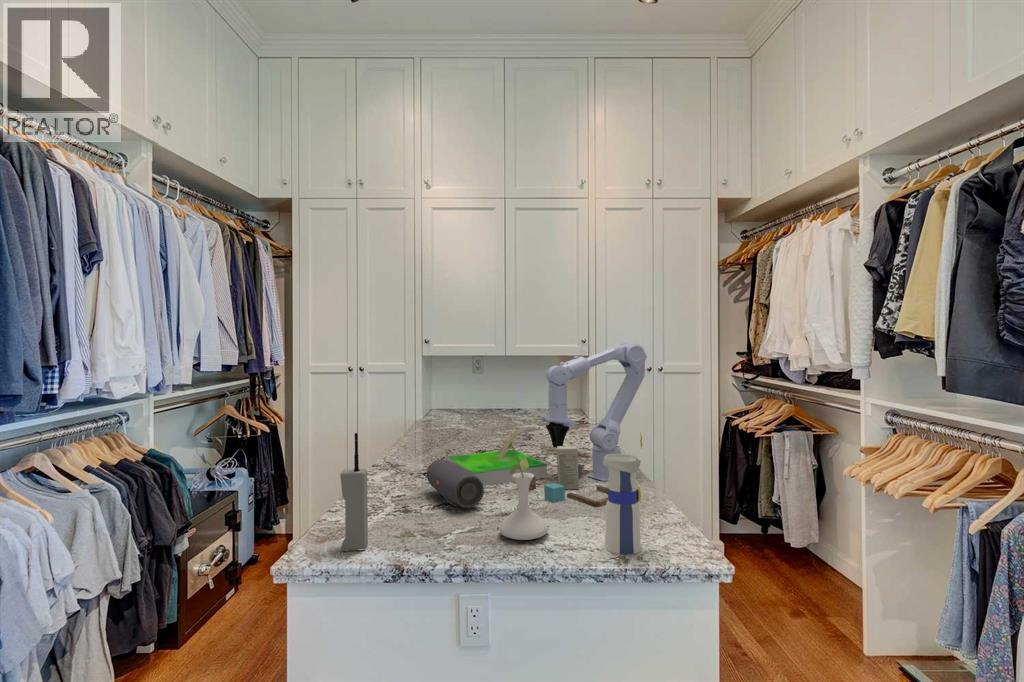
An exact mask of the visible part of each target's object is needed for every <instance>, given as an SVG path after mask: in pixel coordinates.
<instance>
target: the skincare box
mask: <svg viewBox="0 0 1024 682" xmlns="http://www.w3.org/2000/svg"><path fill="white" fill-rule="evenodd" d="M578 451H579V450H578V446H577V445H563V446H557V448H556V461H557V462H556V463H557V464H556V465H557V484H560V485H563V486H565V490H579V488H580V485H579V481H580V480H579V478H580V477H578V464H579V457H578V455H579V454H578V453H579V452H578Z"/></svg>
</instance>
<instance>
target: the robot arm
mask: <svg viewBox="0 0 1024 682" xmlns="http://www.w3.org/2000/svg"><path fill="white" fill-rule="evenodd" d="M647 357H648V356H647V354H646V352H645V350H644V348H643V346H642V345H640V344H637V343H632V344H631V343H620V344H619V345H618V344H617V345H613V346H611V347H609V348H606V349H604V350H601V351H599V352H597V353H595V354H593V355H591V356H588V357H584V356H582V355H581V356H579V355H575V356H572V358H573V359H570V360H568V361H565V362H564V361H561V362H559V365H552V366H550V367H549V369H547V372H546V374H545V378H546V380H547V382H548V415H546V414H544V415H541V416H540V422H541V423H542V422H543V423H548V424H546V425H545V428H546V430H547V432H548V433H549V436H550V440H551V443H552V447H553V448H556V449H557V446H564V442H565V439H566V435H567V433H568V431H569V429H570V428H576V420H573V419H570V418H568V415H567V414H568V411H567V410H568V409H567V408H568V403H567V402H568V400H567V398H568V392H567V391H568V389H567V383H568V382H569V381H571V380H573V379H576V378H578V377H581V376H583V375H586V374H588V373H589V372H590V369H592V368H593V367H596V366H598V365H601V364H605V363H607V362H609V361H613V360H614V361H615V360H616V361H618V363H620V365H621V366H622V367H623V369H624V372H625V377H624V379H623V381H622V383H621V385H620V387H619V388H618V390H617V393H616V395H615V396H614V398H613V401H612V402H611V404H610V406H609V408H608V410H607V412H606V414H605V416H604V417H603V418H601V420H599V421H598V424H596V426H595V427H594V428H593V429H591V430H590V433H589V440H590V442H591V444H593V445H592V473H590V474H586V477H588V478H591V479H594V480H599V481H600V482H601V481H602V482H608V480H609V471H608V467H606V466H604V465H603V461H604V457H605V456H606V455H610V454H623V453H622V452H621V450H620V449H619V448H617V446H618V444H619V437H620V434H621V423H622V421H623V419H624V418H625V416H626V414H627V413H628V410H629V408H630V406H631V404H632V402H633V400H634V398H635V396H636V394H637V393H638V390H639V388H640V387H641V384H642V383H643V381H644V378H645V375H646V373H645V372H646V365H645V364H646V360H647Z"/></svg>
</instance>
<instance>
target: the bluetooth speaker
mask: <svg viewBox="0 0 1024 682" xmlns="http://www.w3.org/2000/svg"><path fill="white" fill-rule="evenodd" d="M426 480H427V482H428V483H429V485H430V486H431V487H433V488H434V490H435V491H437V492H438V493H439V494H441V495H442V496H443V499H444V500H446V501H447V500H448V501H449V502H450V504H451V503H452V504H453V506H454V505H456V506H455V507H460V508H461V507H462V508H473V507H475V506H477V505H478V504H479V503H480V502H481V501H482V499H483V497H484V495H485V486H484V487H483V484H482V482H481V481H480V479H479V478H478V477H476V476H475V475H474V474H472V473H471V472H469V471H468V470H466V469H465V468H463V467H461V466H459V465H457V464H455V463H453V462H450V461H448V459H442V458H439V459H436V460H434V461H432V462H431V463H430V464H429V466H428V467H427V471H426ZM448 501H447V502H448ZM449 502H448V503H449ZM452 504H451V505H452Z"/></svg>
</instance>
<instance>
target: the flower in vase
mask: <svg viewBox="0 0 1024 682" xmlns="http://www.w3.org/2000/svg"><path fill="white" fill-rule="evenodd" d="M517 435H518V429H517V428H513V429H511V430H510V432H509V435H508V437H507V438H504V439H503V442H502V443H503V445H501V447H500V448H499V449H498V450H497V451H498V452H500V453H499V454H498V455H497V457H499V459H500V458H502V457H503V456H504V455H505V454H506V453H507V452H508V450H513V451H514V453H515V455H516V457H517V460H518V464H516V465H514V466H513V467H512V469H511V470H510V473H509V474H513V473H515V471H516V470H517V468H518V467H519V469H520V471H521V473H516V474H513V475H512V477H513V478H514V480H515V481H516V482H515V483H516V484H515V485H516V489H517V488H518V489H517V494H518V495H517V496H518V501H517V502H518V503H517V506H516V508H515V509H514V511H512V512H511V513H510V514H508V515H507V516H506V517H505V518H504V519H503V520H502V521H501V522H500V524H499V526H498V531H499V532H500V534H501V535H502V536H504V537H505V538H509V539H512V540H516V541H517V540H518V541H528V540H529V541H530V540H534V539H535V540H536V539H538V538H541V537H544V536H545V535H546V534H547V533H548V531H549V525H548V523H547V522H546V520H544V519H543V518H542V517H540V516H539V515H538V514H537V513H536V512H535V511H534V510H532V509H531V507H530V505H529V492H530V491H529V485H530V482H531V480H532V478H533V477H534V475H533V474H531V473H523V472H522V471H524V470H526V469H527V468H528V467H529V464H528V461H527V459H526V457H525V458H524V459H522V460H521V461H520V462H519V458H518V456H517V453H516V451H517V450H516V449H515V447H514V445H513V444H514V441H515V440H516V437H517ZM515 450H516V451H515Z"/></svg>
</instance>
